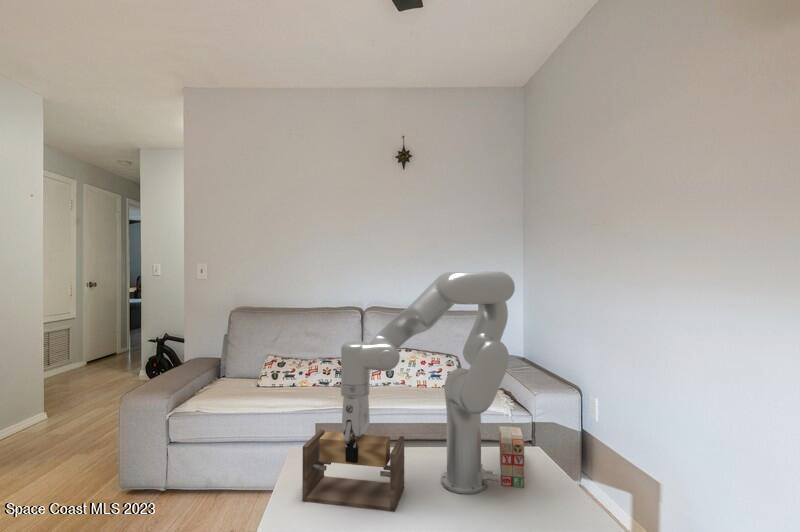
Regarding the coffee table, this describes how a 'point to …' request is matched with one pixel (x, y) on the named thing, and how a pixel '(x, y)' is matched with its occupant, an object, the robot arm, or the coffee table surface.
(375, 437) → the shelf board
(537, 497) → the coffee table surface
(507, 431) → the stack of blocks
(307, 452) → the shelf frame
